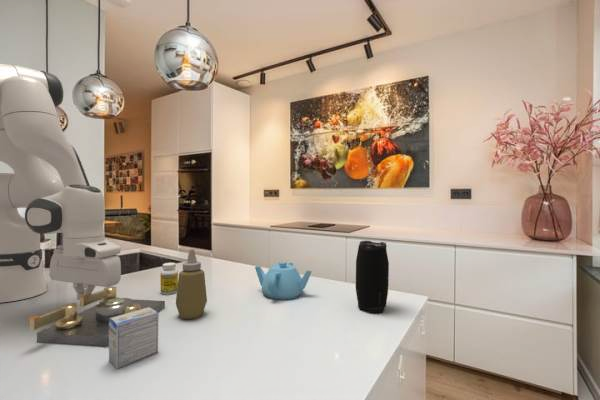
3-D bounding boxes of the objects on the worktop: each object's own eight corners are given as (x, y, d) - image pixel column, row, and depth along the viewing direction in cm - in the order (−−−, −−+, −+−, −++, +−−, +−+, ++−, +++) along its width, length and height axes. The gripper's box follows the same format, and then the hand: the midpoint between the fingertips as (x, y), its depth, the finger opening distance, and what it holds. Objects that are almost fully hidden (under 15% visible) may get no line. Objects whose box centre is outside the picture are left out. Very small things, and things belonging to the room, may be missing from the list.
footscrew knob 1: (70, 318, 72) (70, 299, 72) (87, 320, 71) (87, 301, 71) (22, 339, 62) (22, 317, 62) (41, 341, 61) (41, 319, 61)
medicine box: (149, 345, 64) (149, 306, 64) (158, 352, 61) (159, 311, 61) (108, 361, 58) (108, 317, 58) (116, 370, 55) (116, 324, 55)
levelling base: (36, 342, 65) (36, 316, 65) (110, 305, 87) (110, 286, 87) (108, 346, 63) (108, 320, 63) (164, 307, 85) (164, 288, 85)
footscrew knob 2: (110, 299, 85) (110, 283, 85) (124, 301, 84) (124, 285, 84) (74, 313, 75) (74, 295, 75) (89, 316, 74) (89, 297, 73)
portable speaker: (353, 302, 91) (354, 240, 91) (384, 304, 90) (385, 240, 90) (357, 313, 82) (358, 244, 82) (391, 315, 82) (392, 245, 82)
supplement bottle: (176, 288, 102) (176, 261, 102) (179, 293, 98) (179, 264, 98) (159, 291, 99) (159, 263, 99) (161, 296, 95) (161, 266, 95)
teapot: (253, 290, 102) (253, 259, 102) (291, 284, 109) (292, 255, 109) (269, 305, 89) (270, 269, 89) (312, 297, 96) (313, 264, 96)
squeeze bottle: (173, 323, 75) (173, 253, 75) (177, 310, 83) (178, 247, 83) (206, 319, 77) (206, 251, 77) (207, 308, 85) (207, 246, 85)
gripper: (41, 246, 76) (41, 299, 77) (104, 252, 71) (103, 308, 71) (66, 242, 82) (66, 291, 83) (125, 247, 77) (125, 299, 77)
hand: (84, 299), depth 77 cm, fingers closed
